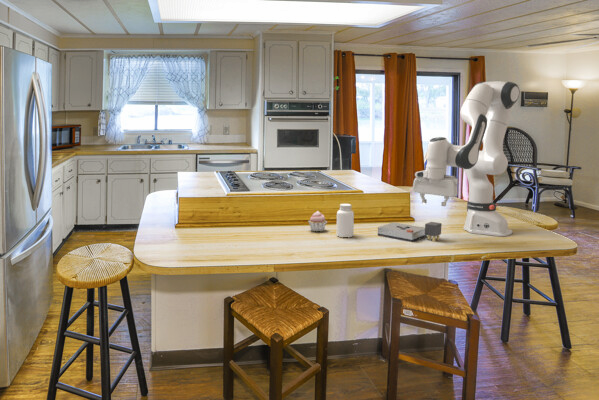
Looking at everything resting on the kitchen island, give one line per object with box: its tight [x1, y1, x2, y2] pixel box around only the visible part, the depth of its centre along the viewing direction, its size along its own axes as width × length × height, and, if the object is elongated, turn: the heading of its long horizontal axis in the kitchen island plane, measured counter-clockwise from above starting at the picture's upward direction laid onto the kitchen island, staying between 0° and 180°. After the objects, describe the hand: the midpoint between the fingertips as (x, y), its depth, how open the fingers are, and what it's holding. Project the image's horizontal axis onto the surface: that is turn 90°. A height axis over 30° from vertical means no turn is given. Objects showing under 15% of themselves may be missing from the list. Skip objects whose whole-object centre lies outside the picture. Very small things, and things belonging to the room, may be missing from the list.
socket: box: [377, 222, 428, 243], centre depth 228 cm, size 18×14×5 cm
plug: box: [424, 221, 443, 242], centre depth 221 cm, size 5×6×8 cm
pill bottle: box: [336, 203, 355, 238], centre depth 227 cm, size 8×8×15 cm
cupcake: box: [307, 210, 328, 232], centre depth 237 cm, size 9×9×10 cm
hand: (433, 204), depth 218 cm, fingers open, 8 cm apart
